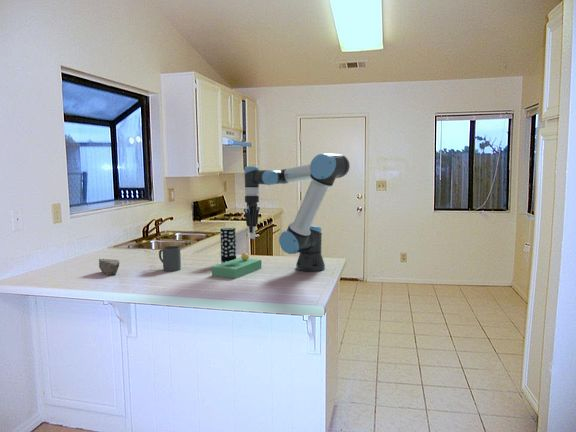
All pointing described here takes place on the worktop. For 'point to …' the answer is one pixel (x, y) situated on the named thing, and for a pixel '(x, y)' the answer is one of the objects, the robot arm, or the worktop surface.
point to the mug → (171, 258)
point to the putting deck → (236, 268)
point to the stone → (109, 266)
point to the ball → (245, 256)
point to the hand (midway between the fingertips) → (252, 238)
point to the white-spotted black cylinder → (228, 244)
